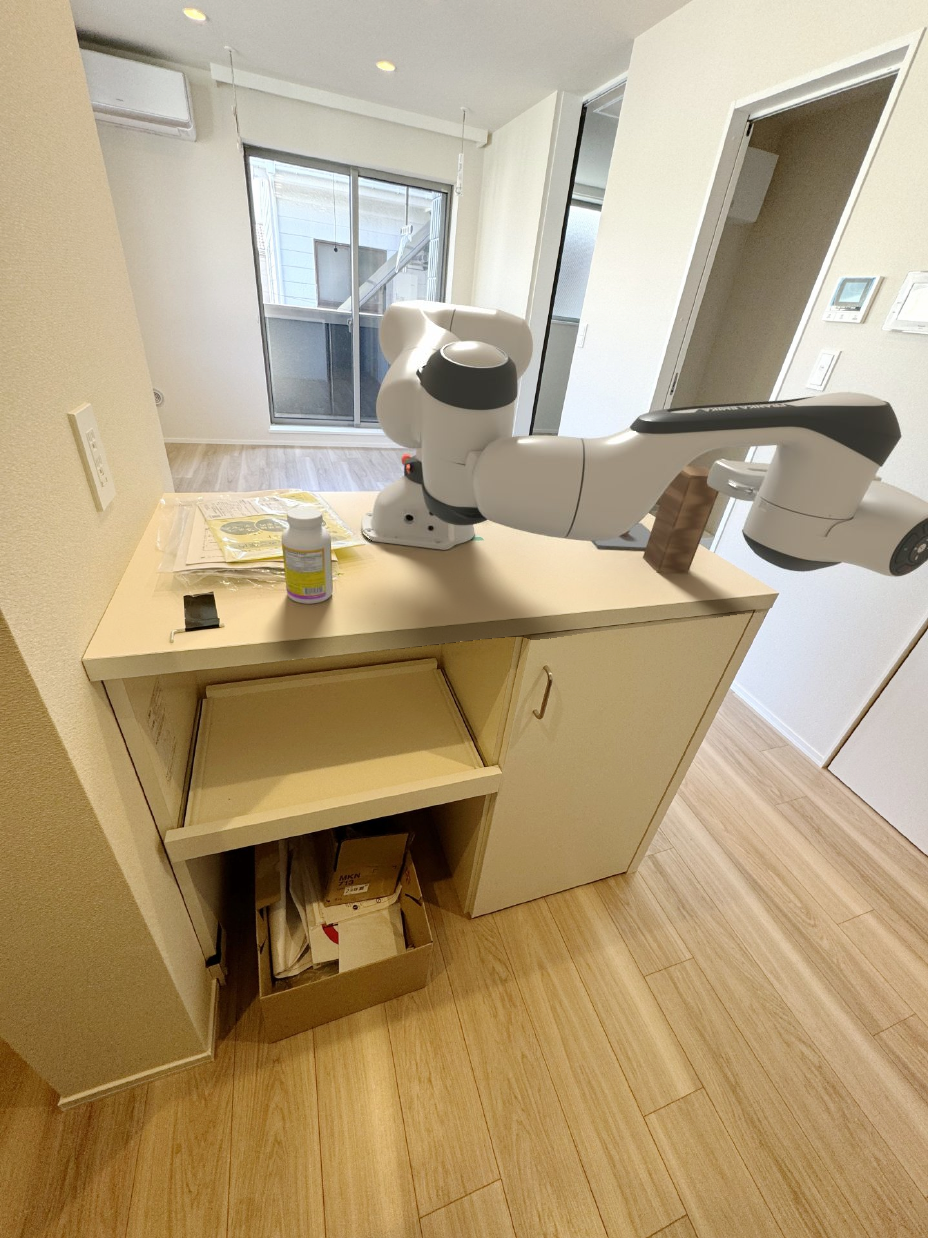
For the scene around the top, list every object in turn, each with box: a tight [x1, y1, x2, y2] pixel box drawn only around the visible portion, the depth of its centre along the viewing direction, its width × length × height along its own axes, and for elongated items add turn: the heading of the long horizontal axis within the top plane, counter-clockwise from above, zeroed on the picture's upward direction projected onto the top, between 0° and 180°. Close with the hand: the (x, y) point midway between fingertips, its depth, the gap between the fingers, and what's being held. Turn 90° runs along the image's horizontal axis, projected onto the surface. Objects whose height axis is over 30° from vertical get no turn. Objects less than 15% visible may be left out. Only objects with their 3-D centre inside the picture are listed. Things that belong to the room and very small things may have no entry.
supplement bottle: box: [280, 506, 334, 605], centre depth 72 cm, size 7×7×13 cm
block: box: [642, 465, 720, 574], centre depth 95 cm, size 6×6×19 cm
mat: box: [591, 522, 652, 551], centre depth 110 cm, size 16×14×1 cm
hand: (750, 466), depth 77 cm, fingers open, 8 cm apart
